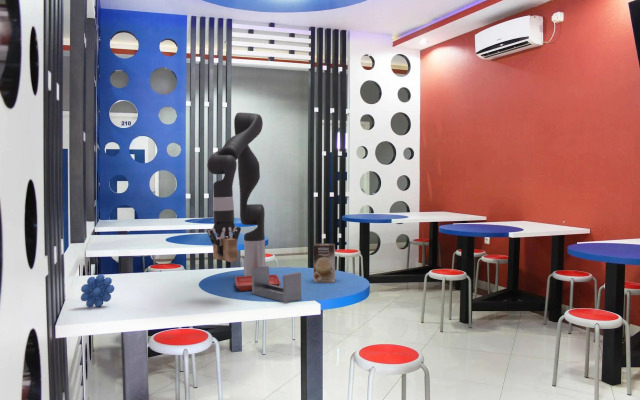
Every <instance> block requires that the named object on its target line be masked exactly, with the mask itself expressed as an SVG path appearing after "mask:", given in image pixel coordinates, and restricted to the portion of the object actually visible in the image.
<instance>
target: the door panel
mask: <svg viewBox="0 0 640 400" xmlns="http://www.w3.org/2000/svg"><path fill="white" fill-rule="evenodd" d="M222 246H223V256H219V254H218V253H217V245H215V244H212V250H213V251H212V252H213V253H212V255H213V259H215V260H220V261H225V262H229V263H231V262H232V263H233V262H237V261H238V240H237V239H232V238H225V236H224V239H223V244H222Z"/></svg>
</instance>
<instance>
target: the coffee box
mask: <svg viewBox="0 0 640 400" xmlns="http://www.w3.org/2000/svg"><path fill="white" fill-rule="evenodd" d="M335 281H336V243H314V244H313V283H314V284H315V283H323V284H325V283H326V284H327V283H330V284H331V283H333V284H334V283H335Z"/></svg>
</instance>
